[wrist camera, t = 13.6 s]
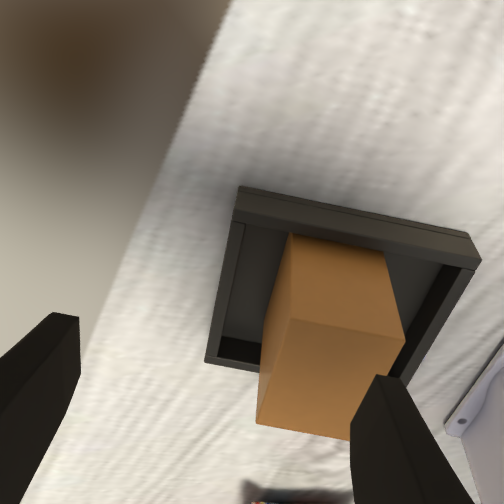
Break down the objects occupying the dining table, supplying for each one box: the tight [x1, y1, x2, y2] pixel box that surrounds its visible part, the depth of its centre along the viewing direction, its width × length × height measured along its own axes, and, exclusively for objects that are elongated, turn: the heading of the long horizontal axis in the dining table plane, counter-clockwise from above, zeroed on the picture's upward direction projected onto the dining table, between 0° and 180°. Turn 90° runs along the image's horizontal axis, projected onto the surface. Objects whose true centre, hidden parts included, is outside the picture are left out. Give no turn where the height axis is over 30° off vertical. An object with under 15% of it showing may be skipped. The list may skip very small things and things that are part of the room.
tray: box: [204, 186, 482, 387], centre depth 22 cm, size 9×10×2 cm
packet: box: [256, 232, 405, 441], centre depth 20 cm, size 4×6×6 cm, turn 169°
